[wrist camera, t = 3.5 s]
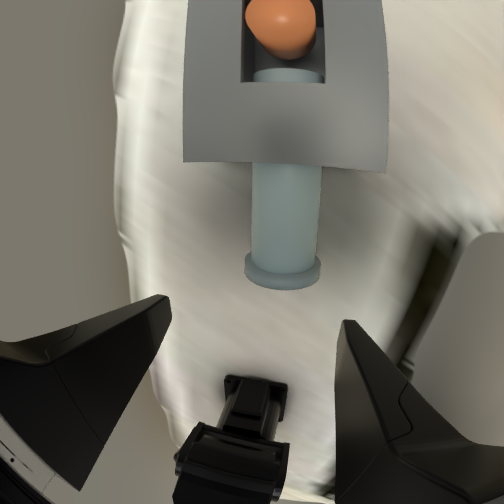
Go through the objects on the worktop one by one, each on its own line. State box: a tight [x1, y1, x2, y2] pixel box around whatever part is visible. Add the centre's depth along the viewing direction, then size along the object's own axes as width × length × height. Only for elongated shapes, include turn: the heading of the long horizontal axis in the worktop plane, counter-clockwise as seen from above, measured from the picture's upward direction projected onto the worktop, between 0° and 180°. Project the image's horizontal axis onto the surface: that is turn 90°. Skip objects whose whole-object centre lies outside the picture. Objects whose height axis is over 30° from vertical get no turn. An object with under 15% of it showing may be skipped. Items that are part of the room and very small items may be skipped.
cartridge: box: [245, 68, 324, 290], centre depth 16 cm, size 12×5×5 cm, turn 179°
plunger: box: [245, 0, 316, 60], centre depth 11 cm, size 3×3×3 cm
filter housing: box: [183, 0, 389, 173], centre depth 14 cm, size 10×10×6 cm
